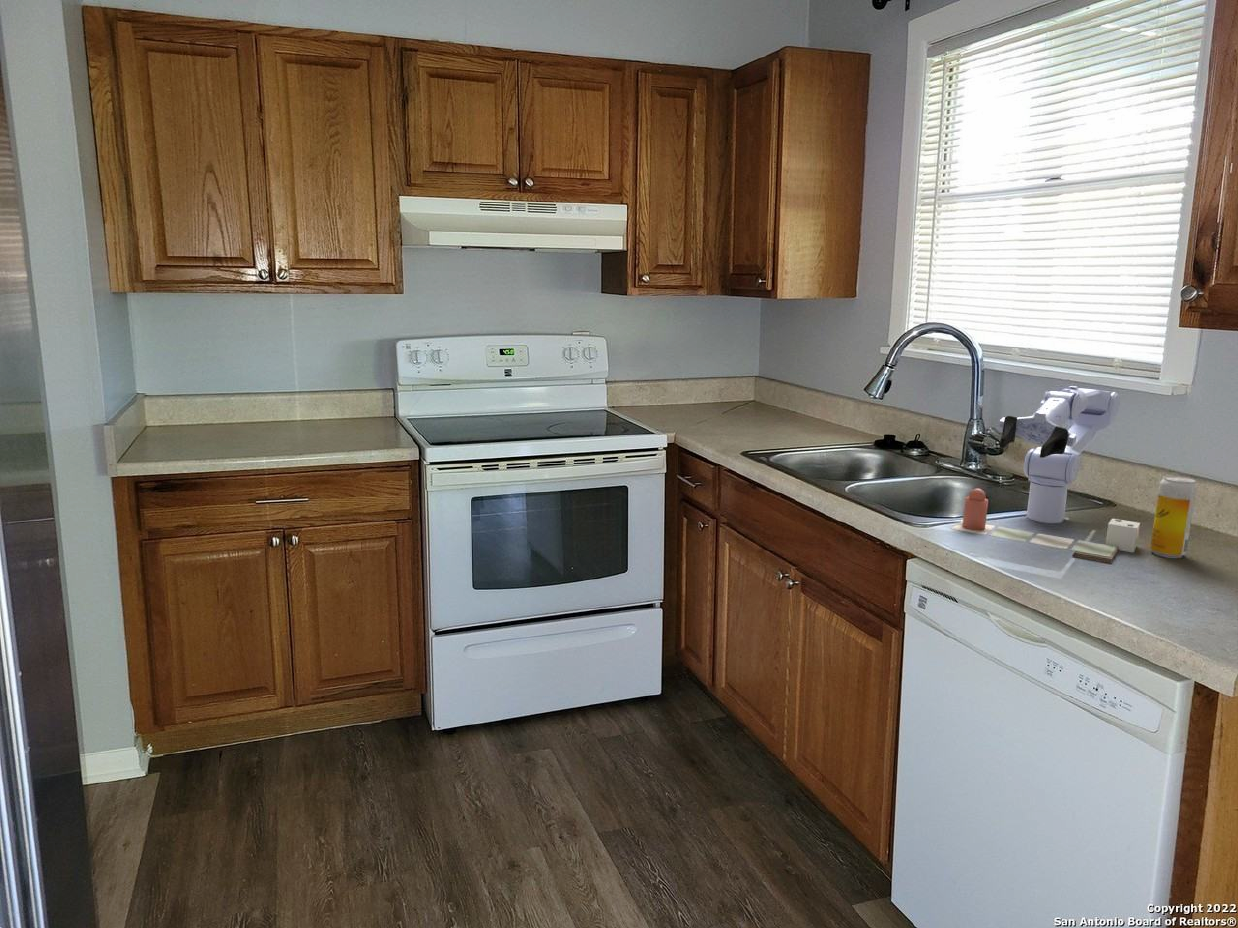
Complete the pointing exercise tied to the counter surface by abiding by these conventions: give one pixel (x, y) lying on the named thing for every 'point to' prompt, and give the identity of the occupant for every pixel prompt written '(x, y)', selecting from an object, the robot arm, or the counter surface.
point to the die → (1123, 534)
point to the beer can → (1173, 516)
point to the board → (1051, 542)
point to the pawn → (975, 510)
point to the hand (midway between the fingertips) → (1021, 448)
